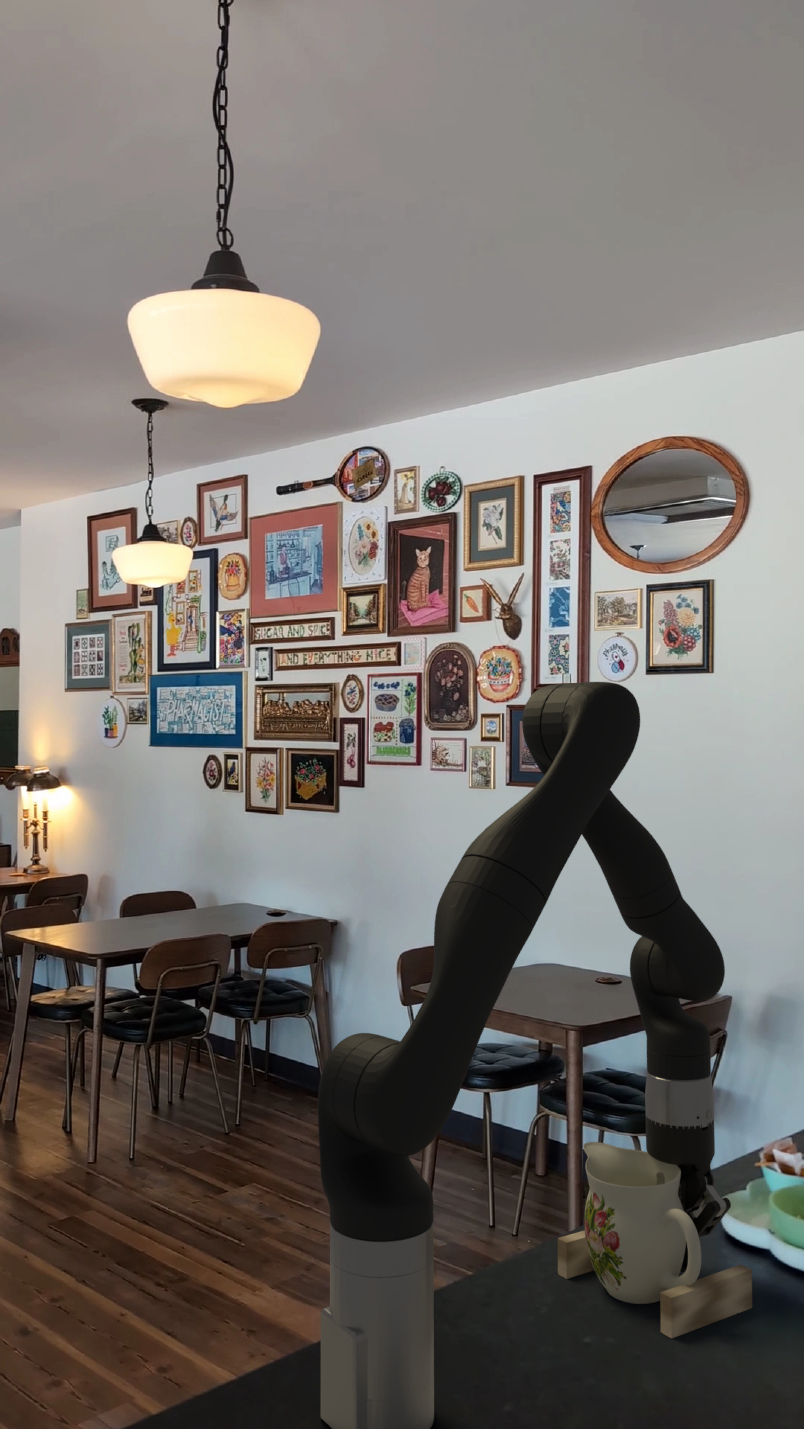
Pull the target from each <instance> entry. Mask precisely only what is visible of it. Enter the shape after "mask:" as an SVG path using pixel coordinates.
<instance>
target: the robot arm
mask: <svg viewBox="0 0 804 1429" xmlns="http://www.w3.org/2000/svg"><path fill="white" fill-rule="evenodd" d="M521 721H522V722H521V725H522V733H523V734H522V735H523V738H524V741H525V742H524V743H525V744H526V747H527V749H528V752H529V753H530V756H531V757H532V759H533V761H534V762H535V764H536V766H537V767H538V769H539V770H540V772H541V773H542V775H543V777H542V778H541V779H540V781H539V782H538V783H537V784H536V785H535V786H534V787H533V788H532V790H530V791H529V792H528V793H527V794H526V795H524V796H523V797H522V798H521V799H520V800H518V801H517V803H515V804H513V806H511V807H510V808H509V809H507V810H506V811H505V812H503V813H502V814H501V815H500V816H499V817H498V818H496V819H495V820H493V822H491V823H490V824H489V825H488V826H487V827H486V828H485V829H484V830H483V831H482V832H481V833H479V835H478V836H477V837H476V838H475V839H474V840H473V841H471V843H470V845H469V846H468V847H467V849H466V851H465V852H464V854H463V855H462V857H461V859H460V861H459V862H458V864H457V866H456V867H455V869H454V871H453V873H452V875H451V877H450V878H449V880H448V882H447V883H446V885H445V887H444V890H443V892H442V894H441V896H440V899H439V900H438V904H437V906H436V907H437V908H436V912H435V916H434V917H435V918H434V919H435V920H434V930H433V966H432V974H431V980H430V983H429V987H428V990H427V993H426V995H425V998H424V1000H423V1002H422V1004H421V1005H420V1007H419V1009H418V1011H417V1013H416V1014H415V1017H414V1018H413V1021H412V1023H411V1024H410V1026H409V1028H408V1030H407V1031H406V1032H405V1034H404V1036H403V1037H402V1039H401V1040H397V1039H394V1038H391V1037H387V1036H384V1035H380V1034H376V1033H370V1032H359V1033H355V1034H352V1035H349V1036H346V1037H345V1038H343V1039H342V1040H340V1041H339V1042H338V1043H337V1044H336V1045H335V1046H334V1048H333V1049H332V1050H331V1052H329V1055H328V1056H327V1058H326V1061H325V1063H324V1065H323V1069H322V1070H321V1076H320V1079H319V1084H318V1094H317V1122H318V1123H317V1125H318V1126H317V1127H318V1144H319V1145H318V1147H319V1148H318V1149H319V1166H320V1168H319V1169H320V1170H319V1171H320V1178H321V1179H320V1180H321V1185H322V1189H323V1191H324V1192H323V1193H324V1195H325V1197H326V1199H327V1203H328V1205H329V1221H330V1223H329V1306H327V1307H324V1308H322V1309H321V1311H320V1419H322V1420H323V1421H324V1423H326V1424H327V1425H328V1426H329V1428H331V1429H431V1428H432V1426H433V1424H434V1421H435V1371H434V1370H435V1363H434V1362H435V1361H434V1360H435V1349H434V1348H435V1346H434V1345H435V1344H434V1343H435V1342H434V1336H435V1334H434V1332H435V1331H434V1329H435V1328H434V1327H435V1325H434V1323H435V1322H434V1318H435V1317H434V1313H435V1312H434V1309H435V1308H434V1307H435V1306H434V1303H435V1302H434V1292H435V1291H434V1197H433V1192H432V1189H431V1187H430V1185H429V1183H428V1182H427V1181H426V1180H425V1178H424V1177H423V1176H422V1175H421V1173H419V1171H418V1170H417V1168H416V1167H415V1165H414V1164H413V1163H412V1161H411V1159H410V1157H409V1156H413V1155H415V1154H418V1153H420V1152H422V1151H423V1150H425V1149H426V1148H427V1147H428V1146H429V1145H431V1144H432V1143H433V1141H434V1140H435V1139H436V1138H437V1136H438V1135H439V1134H440V1132H441V1131H442V1130H443V1127H444V1126H445V1124H446V1122H447V1120H448V1119H449V1117H450V1115H451V1112H452V1110H453V1107H454V1105H455V1104H456V1101H457V1099H458V1096H459V1093H460V1091H461V1088H462V1085H463V1083H464V1081H465V1078H466V1075H467V1073H468V1070H469V1067H470V1065H471V1062H472V1060H473V1057H474V1055H475V1052H476V1049H477V1046H478V1044H479V1042H480V1040H481V1036H482V1034H483V1032H484V1030H485V1027H486V1024H487V1023H488V1020H489V1018H490V1016H491V1014H492V1011H493V1009H494V1007H495V1005H496V1003H497V1001H498V999H499V997H500V995H501V993H502V990H503V988H504V986H505V984H506V983H507V979H508V977H509V976H510V974H511V971H512V969H513V967H514V965H515V963H516V961H517V958H518V957H519V955H520V953H521V952H522V950H523V948H524V947H525V945H526V944H527V941H528V939H529V937H530V936H531V934H532V933H533V930H534V928H535V926H536V924H537V922H538V920H539V918H540V916H541V914H542V912H544V911H543V910H544V908H545V907H546V904H547V903H548V901H549V898H550V896H551V894H552V892H553V890H554V887H555V885H556V884H557V881H558V879H559V877H560V875H561V874H562V872H563V870H564V867H565V866H566V864H567V862H568V860H569V858H570V857H571V855H572V854H573V851H574V849H575V848H576V846H577V844H578V842H579V841H580V838H581V837H583V839H584V840H585V842H586V844H587V845H588V847H589V849H590V850H591V852H592V853H593V856H594V858H595V860H596V862H597V863H598V866H599V868H600V869H601V871H602V874H603V876H604V879H605V880H606V883H607V885H608V888H609V890H610V892H611V895H612V897H613V900H614V902H615V904H616V906H617V909H618V911H619V914H620V915H621V918H622V920H623V923H624V924H625V925H626V926H627V928H628V929H629V930H630V931H632V932H633V933H635V934H636V935H639V936H640V937H639V938H638V939H637V941H636V942H635V944H634V946H633V948H632V950H631V954H630V958H629V959H630V961H629V975H630V981H631V984H632V986H631V987H632V988H633V992H634V996H635V1001H636V1003H637V1006H638V1011H639V1015H640V1018H641V1021H642V1025H643V1028H644V1031H645V1035H646V1079H645V1080H646V1082H645V1091H644V1094H645V1096H644V1099H645V1101H644V1102H645V1105H644V1106H645V1145H646V1146H645V1147H646V1152H648V1154H649V1155H650V1156H651V1157H652V1158H654V1159H656V1160H658V1161H661V1162H664V1163H668V1164H673V1165H678V1166H679V1168H680V1170H681V1177H680V1183H679V1189H678V1196H679V1199H680V1201H681V1204H682V1207H683V1210H684V1212H685V1213H686V1214H687V1215H689V1217H690V1218H691V1219H692V1221H693V1223H694V1225H695V1227H696V1230H697V1232H698V1236H699V1238H702V1237H704V1236H709V1235H711V1233H712V1232H713V1231H714V1230H715V1228H716V1227H717V1226H718V1224H719V1223H720V1222H721V1221H722V1219H723V1217H725V1215H726V1214H727V1213H728V1212H729V1210H730V1209H731V1207H732V1203H731V1200H730V1199H729V1198H728V1197H725V1196H724V1197H723V1198H722V1197H721V1196H720V1195H719V1193H718V1192H717V1190H716V1189H715V1187H714V1185H715V1180H714V1179H715V1178H714V1176H713V1174H712V1170H711V1165H712V1161H713V1159H714V1157H715V1154H716V1151H715V1150H716V1148H715V1147H716V1144H715V1138H716V1137H715V1103H714V1102H715V1099H714V1089H713V1083H712V1081H713V1080H712V1074H711V1073H712V1067H711V1066H712V1064H711V1063H712V1062H711V1060H712V1059H711V1036H710V1031H709V1028H708V1026H707V1025H706V1024H705V1022H702V1021H701V1020H699V1019H697V1018H695V1017H694V1016H692V1015H690V1014H689V1013H688V1012H686V1011H685V1010H684V1009H683V1006H682V1004H681V1001H680V1000H684V1001H685V1000H686V1001H690V1002H706V1001H709V1000H711V999H712V998H714V997H715V996H717V994H718V993H719V992H720V990H721V989H722V986H723V984H724V979H725V977H726V976H725V974H726V971H725V970H726V967H725V966H726V965H725V961H724V957H723V956H724V955H723V953H722V951H721V948H720V945H719V944H718V942H717V940H716V938H715V937H714V935H713V934H712V933H711V932H710V930H709V929H708V928H707V927H706V925H705V924H704V923H703V921H702V920H701V919H700V918H699V916H698V914H697V913H696V912H695V910H694V909H693V908H692V907H691V906H690V904H688V902H687V901H686V900H685V899H684V898H683V895H682V892H681V890H680V887H679V885H678V882H677V880H676V877H675V875H674V873H673V870H672V867H671V865H670V863H669V861H668V858H667V857H666V854H665V852H664V851H663V848H662V847H661V846H660V845H659V843H658V842H657V840H656V839H655V837H654V836H653V835H652V834H651V833H650V831H649V830H648V829H647V828H646V827H645V826H644V825H643V824H642V823H641V822H640V821H639V820H638V819H637V818H636V816H635V815H633V814H632V812H630V811H629V810H628V808H627V807H625V805H624V804H623V803H622V802H621V801H620V800H619V798H618V797H617V796H616V795H615V794H614V793H613V791H612V790H611V788H612V787H613V785H614V784H615V782H616V781H617V780H618V778H619V776H620V775H621V773H622V772H623V770H624V769H625V767H626V765H627V764H628V761H629V760H630V758H631V756H632V754H633V753H634V750H635V747H636V745H637V742H638V738H639V733H640V730H641V729H640V727H641V712H640V707H639V703H638V701H637V699H636V697H635V696H634V694H633V693H632V692H631V691H630V690H629V689H628V688H627V687H625V686H623V685H621V684H619V683H614V682H611V681H610V682H609V681H585V682H582V681H581V682H571V683H570V682H569V683H556V684H549V685H546V686H543V687H540V688H539V689H537V690H535V691H534V692H533V693H532V694H531V695H530V696H529V698H528V699H527V701H526V703H525V705H524V709H523V712H522V718H521ZM656 1177H657V1185H661V1184H665V1177H664V1174H663V1173H662V1172H658V1173H657V1174H656ZM687 1266H688V1248H687V1242H686V1247H685V1254H684V1259H683V1263H682V1267H681V1270H680V1273H684V1272H685V1271H686V1269H687Z"/></svg>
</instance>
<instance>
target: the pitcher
mask: <svg viewBox="0 0 804 1429" xmlns="http://www.w3.org/2000/svg"><path fill="white" fill-rule="evenodd" d="M582 1147H583V1151H584V1153H585V1155H586V1156H587V1159H586V1161H585V1174H586V1178H587V1182H588V1186H589V1191H588V1194H587V1198H586V1202H585V1208H584V1219H583V1220H584V1222H583V1226H584V1227H583V1228H584V1230H585V1237H586V1243H587V1248H588V1252H589V1256H590V1259H591V1262H592V1265H593V1267H594V1270H593V1271H594V1272H595V1274H596V1276H597V1278H598V1280H599V1282H600V1283H601V1284H602V1286H603V1287H604V1289H605V1290H606V1291H607V1293H608V1294H609V1295H610V1296H611V1297H612V1298H614V1299H616V1300H619V1301H622V1302H624V1303H629V1304H637V1305H646V1304H648V1305H649V1304H653V1303H656V1302H660V1292H663V1291H666V1290H669V1289H672V1288H674V1287H677V1286H680V1285H685V1286H690V1285H693V1284H694V1283H695V1281H696V1280H697V1279H699V1278H698V1277H699V1276H700V1272H701V1266H702V1247H701V1240H700V1237H699V1236H698V1232H697V1230H696V1227H695V1225H694V1223H693V1221H692V1219H691V1218H690V1217H689V1215H687V1214H686V1213H685V1212H684V1210H683V1207H682V1204H681V1201H680V1199H679V1196H678V1189H679V1183H680V1177H681V1170H680V1168H679V1166H678V1165H673V1164H668V1163H664V1162H661V1161H658V1160H656V1159H654V1158H652V1157H651V1156H650V1155H649V1154H648V1152H647V1151H643V1150H638V1149H633V1148H625V1147H620V1146H619V1147H618V1146H616V1145H612V1144H608V1143H603V1142H599V1141H589V1142H586V1143H584V1144H582ZM658 1172H662V1173H663V1174H664V1177H665V1184H661V1185H657V1177H656V1174H657V1173H658ZM686 1242H687V1248H688V1266H687V1269H686V1271H685V1272H683V1273H682V1274H681V1275H680V1273H681V1272H680V1270H681V1267H682V1263H683V1259H684V1254H685V1247H686Z"/></svg>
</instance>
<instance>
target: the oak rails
mask: <svg viewBox="0 0 804 1429" xmlns="http://www.w3.org/2000/svg"><path fill="white" fill-rule="evenodd" d="M593 1271H595V1270H594V1267H593V1265H592V1262H591V1259H590V1256H589V1252H588V1248H587V1243H586V1237H585V1229H584V1230H581V1231H578V1232H574V1233H572V1234H567V1235H564V1236H560V1237H557V1274H558V1275H559V1276H560V1277H563V1279H565V1280H567V1279H571V1278H574V1277H578V1276H580V1275H584V1274H586V1273H587V1274H588V1273H590V1272H593ZM752 1271H753V1269H752V1268H749V1267H747V1266H745V1265H743V1264H738V1265H735V1266H733V1267H730V1268H726V1269H724V1270H720V1271H718V1272H715V1273H712V1274H709V1275H707V1276H703V1277H701V1278H697V1280H696V1281H695V1283H694V1284H693V1285H690V1286H685V1285H680V1286H677V1287H674V1288H672V1289H669V1290H666V1291H663V1292H660V1301H659V1302H660V1306H659V1307H660V1333H662V1335H664V1336H666V1337H668V1338H670V1339H674V1338H677V1337H679V1336H682V1335H685V1334H688V1333H690V1332H692V1331H696V1330H697V1329H700V1328H704V1327H705V1326H708V1325H711V1324H714V1323H716V1322H719V1321H721V1320H725V1319H727V1318H729V1317H732V1316H735V1315H737V1313H738V1314H740V1313H743V1312H745V1311H748V1310H751V1309H753V1272H752Z"/></svg>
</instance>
